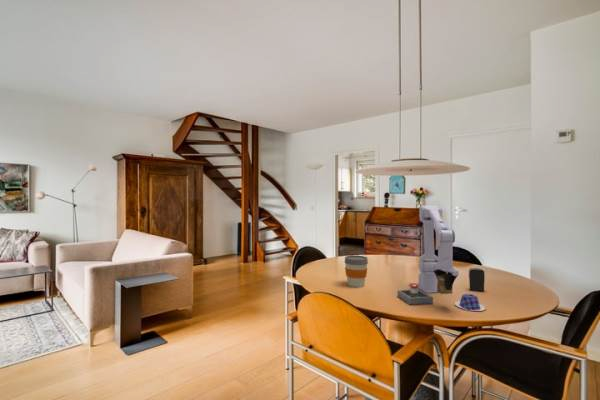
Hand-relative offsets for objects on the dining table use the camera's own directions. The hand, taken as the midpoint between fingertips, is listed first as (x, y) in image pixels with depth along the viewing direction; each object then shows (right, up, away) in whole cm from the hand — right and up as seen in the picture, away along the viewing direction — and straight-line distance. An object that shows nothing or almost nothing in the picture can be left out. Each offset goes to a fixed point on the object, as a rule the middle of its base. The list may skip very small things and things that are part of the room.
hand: (445, 288), depth 132 cm
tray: (-10, -8, +10) cm, 16 cm away
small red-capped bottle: (-10, -8, +9) cm, 16 cm away
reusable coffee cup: (-33, -8, +34) cm, 48 cm away
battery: (+28, -8, +24) cm, 38 cm away
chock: (0, -2, 0) cm, 2 cm away
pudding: (+12, -9, +1) cm, 15 cm away
